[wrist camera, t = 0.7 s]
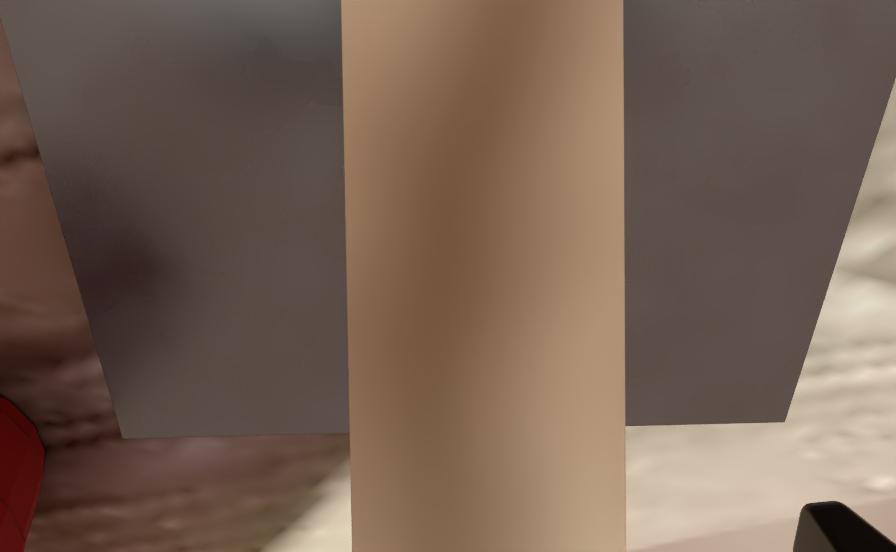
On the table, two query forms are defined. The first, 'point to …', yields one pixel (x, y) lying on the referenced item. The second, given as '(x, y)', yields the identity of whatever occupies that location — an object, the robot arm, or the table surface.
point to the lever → (485, 274)
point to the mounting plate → (323, 198)
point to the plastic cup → (18, 476)
